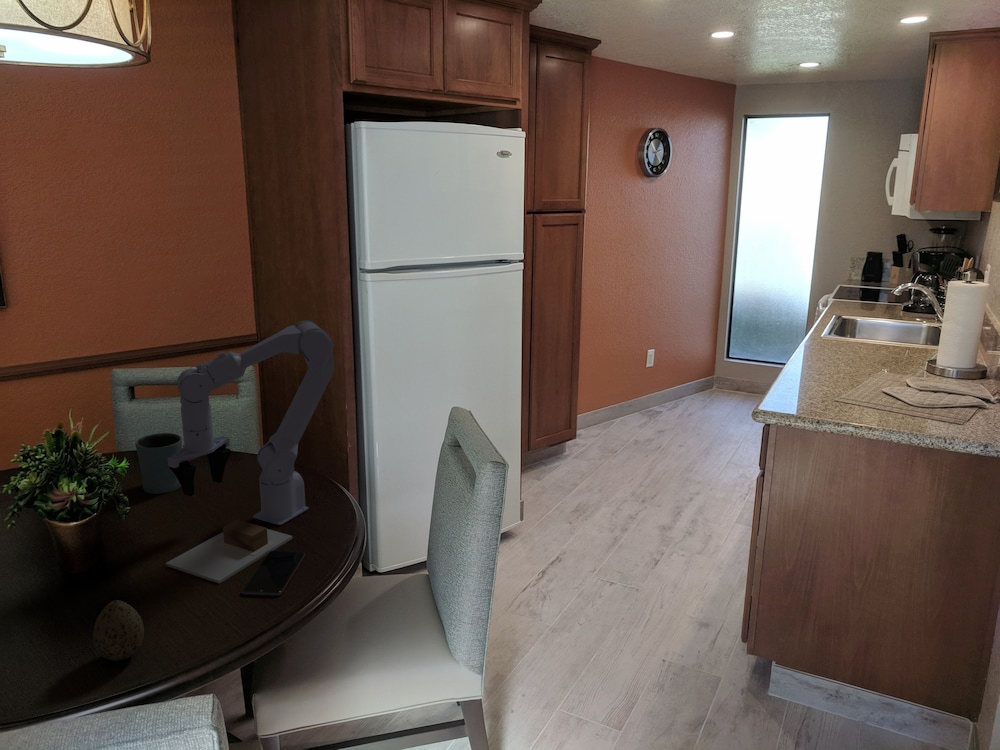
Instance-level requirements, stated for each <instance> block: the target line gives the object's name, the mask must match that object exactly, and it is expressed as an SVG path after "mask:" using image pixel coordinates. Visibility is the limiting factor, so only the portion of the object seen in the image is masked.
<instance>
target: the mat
mask: <svg viewBox="0 0 1000 750" xmlns="http://www.w3.org/2000/svg"><path fill="white" fill-rule="evenodd" d="M267 536H268V544H266V545H265V546H263V547H261V548H260V549H258V550H256V551H255V552H252V551H249V550H246V549H242V548H239V547H236V546H233V545H230V544H226V543H224V534H223V531H222V532H221V533H219V534H216V535H214V536H212V537H211V538H209V539H208V540H205V541H203V542H202V543H199V544H198V545H196V546H195V547H193V548H191V549H189V550H187V551H185V552H183V553H181V554H179V555H178V556H176V557H174V558H172V559H171V560H169V561H167V562H165V567H168V568H172V569H175V570H178V571H181V572H183V573H187V574H189V575H192V576H195V577H198V578H201V579H204V580H207V581H210V582H213V583H216V584H219V585H220V584H221V583H223V582H225V581H226V580H228V579H230V578H231V577H232V576H233V577H234V575H236V574H238V573H239V572H240V571H242V570H244V569H245V568H247V567H249V566H251V565H253V563H255V562H257V561H258V560H260V559H262V558H264V557H266V556H267V555H268V554H269V552H271V551H276V550H277V549H278V548H280V547H281V546H283V545H284V544H287V543H288V542H289V541H291V540H292V539H293V535H290V534H286V533H283V532H280V531H278V530H277V531H276V530H273V529H269V528H267Z"/></svg>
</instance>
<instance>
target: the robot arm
mask: <svg viewBox="0 0 1000 750" xmlns="http://www.w3.org/2000/svg"><path fill="white" fill-rule="evenodd" d="M334 346H335V345H334V343H333V342H332V340H331V337H330V336H329V334H328V332H326V330H324V329H322V328H320V327H319V326H318V325H317V324H316V323H315V322H313V321H311V320H303V321H299V322H297V323H296V324H293V325H289V326H287V327H285V328H284V329H282V330H280V331H278V332H277V333H273V335H270V336H269V337H267V338H265V339H263V340H262V341H260V342H258V343H256V344H254V345H252V346H250V347H249V348H246V349H245V350H243V351H241V352H240V353H237V352H233V351H228V352H226V353H225V352H224V351H220V352H219V353H217V357H215V358H213V359H211V360H209V361H206V362H205V363H202V364H201V363H198V364H195V368H187V369H185V370H183V371H182V372H181V373H180V374H179V376H178V377H177V381H176V387H177V389H178V391H179V394H180V399H179V402H180V404H181V406H180V415H181V425H182V434H183V444H182V449H181V450H180V451H178V452H177V453H176V454H174V455H172V456H170V457H168V466H169V468H170V469H171V470H172V472H173V473H174V474H175V476H176V477H177V479H178V481H179V482H180V485H181V487H180V488H181V489H182V491H183V493H184V495H186V496H189V497H193V496H194V495H195V472H196V469H197V466H196V465H191V462H190V461H193V460H195V459H198V458H200V457H203V456H207V460H208V463H209V468H210V474H211V475H210V476H211V481H212V482H215V483H218V484H219V483H220V484H221V483H222V482H223V478H224V472H225V469H226V465H227V462H228V460H229V458H230V456H231V455H232V451H231V449H230V448H228V447H230V446H231V443H230V437H228V436H225V435H221V436H218V437H214V427H213V418H212V408H211V404H210V397H209V396H210V394H211V392H212V391H216V390H217V389H219V388H221V387H223V386H225V385H228V384H230V383H232V382H234V381H236V380H238V379H239V378H242V377H244V375H245V372H246V370H247V368H250V367H251V366H254V365H256V364H258V363H261V362H263V361H265V360H268V359H269V358H272V357H274V356H276V355H279V354H282V353H286V354H292V355H299V354H300V352H301V354H302V356H303V358H304V361H305V363H306V366H307V371H306V373H305V374H304V377H303V379H302V381H301V383H300V385H299V387H298V389H297V391H296V393H295V395H294V397H293V399H292V401H291V403H290V405H289V407H288V409H287V410H286V412H285V415H284V416H283V419H282V421H281V423H280V425H279V427H278V429H277V431H276V432H275V433H274V434H272V435H271V436H270V437H269V439H268V441H267V442H266V444H264V445H263V446H262V447H261V448H260V449H259V450H258V452H257V454H256V459H257V463H258V465H259V466H260V468H261V469H262V470H261V472H260V475H259V476H258V482H259V494H260V495H259V496H260V497H259V498H260V506H261V507H260V508H261V509H260V511H259V512H257V513H255V514H254V515H253V516H252V519H255V520H258V521H259V520H260V521H262V522H266V523H269V524H273V525H276V526H282V525H284V524H285V523H287V522H288V521H290V520H293V519H295V518H296V517H298V516H299V515H301V514H302V513H304V512H306V511H308V510H309V506H306V497H305V496H306V494H305V492H306V491H305V482H304V479H303V477H302V476H301V474H300V473H299V472H297V471H296V470H295V461H296V459H297V458H298V449H299V442H300V441H301V440H302V437H303V435H304V433H305V431H306V429H307V427H308V424H309V423H310V421H311V419H312V417H313V415H314V414H315V410H316V409H317V406H318V405H319V403H320V401H321V398H322V397H323V395H324V393H325V391H326V389H327V387H328V384H329V383H330V381H331V379H332V377H333V374H334V372H335V364H334V363H335V362H334V352H333V351H334ZM299 351H300V352H299ZM189 462H190V463H189Z"/></svg>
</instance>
